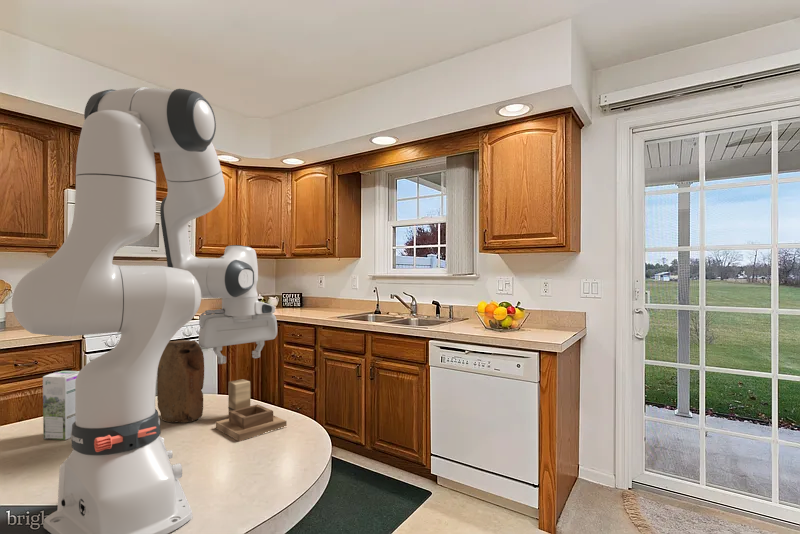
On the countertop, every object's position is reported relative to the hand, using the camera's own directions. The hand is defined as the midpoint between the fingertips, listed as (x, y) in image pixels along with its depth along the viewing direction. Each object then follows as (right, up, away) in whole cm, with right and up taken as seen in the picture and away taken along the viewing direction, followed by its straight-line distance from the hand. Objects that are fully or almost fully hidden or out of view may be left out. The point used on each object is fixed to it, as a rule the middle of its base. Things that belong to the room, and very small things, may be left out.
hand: (239, 360), depth 115 cm
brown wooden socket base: (+6, -14, -9) cm, 18 cm away
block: (-14, -15, -2) cm, 20 cm away
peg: (0, -15, 0) cm, 15 cm away
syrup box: (-36, -15, -13) cm, 41 cm away
